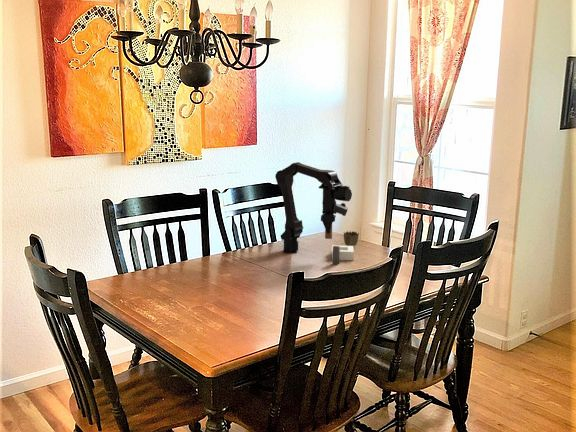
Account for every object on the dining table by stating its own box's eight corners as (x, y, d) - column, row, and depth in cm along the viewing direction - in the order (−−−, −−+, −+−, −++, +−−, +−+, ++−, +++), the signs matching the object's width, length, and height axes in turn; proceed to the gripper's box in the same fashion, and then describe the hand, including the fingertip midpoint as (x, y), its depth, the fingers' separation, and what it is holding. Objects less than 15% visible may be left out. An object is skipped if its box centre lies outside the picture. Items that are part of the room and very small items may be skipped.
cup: (340, 247, 290) (340, 231, 289) (353, 245, 294) (353, 230, 292) (348, 251, 284) (348, 235, 282) (361, 249, 287) (361, 233, 285)
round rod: (332, 264, 264) (332, 247, 262) (332, 262, 267) (333, 245, 265) (339, 264, 263) (339, 247, 262) (339, 262, 266) (339, 245, 265)
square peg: (325, 238, 268) (325, 221, 266) (325, 237, 271) (325, 220, 269) (331, 238, 268) (331, 221, 266) (332, 237, 271) (332, 220, 269)
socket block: (331, 259, 271) (331, 251, 270) (332, 253, 281) (332, 245, 280) (353, 260, 270) (353, 251, 269) (353, 254, 280) (353, 245, 279)
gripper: (346, 203, 255) (345, 238, 259) (347, 195, 273) (346, 228, 277) (320, 202, 257) (320, 237, 260) (323, 194, 275) (323, 227, 278)
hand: (328, 232), depth 269 cm, fingers closed on square peg, 3 cm apart
